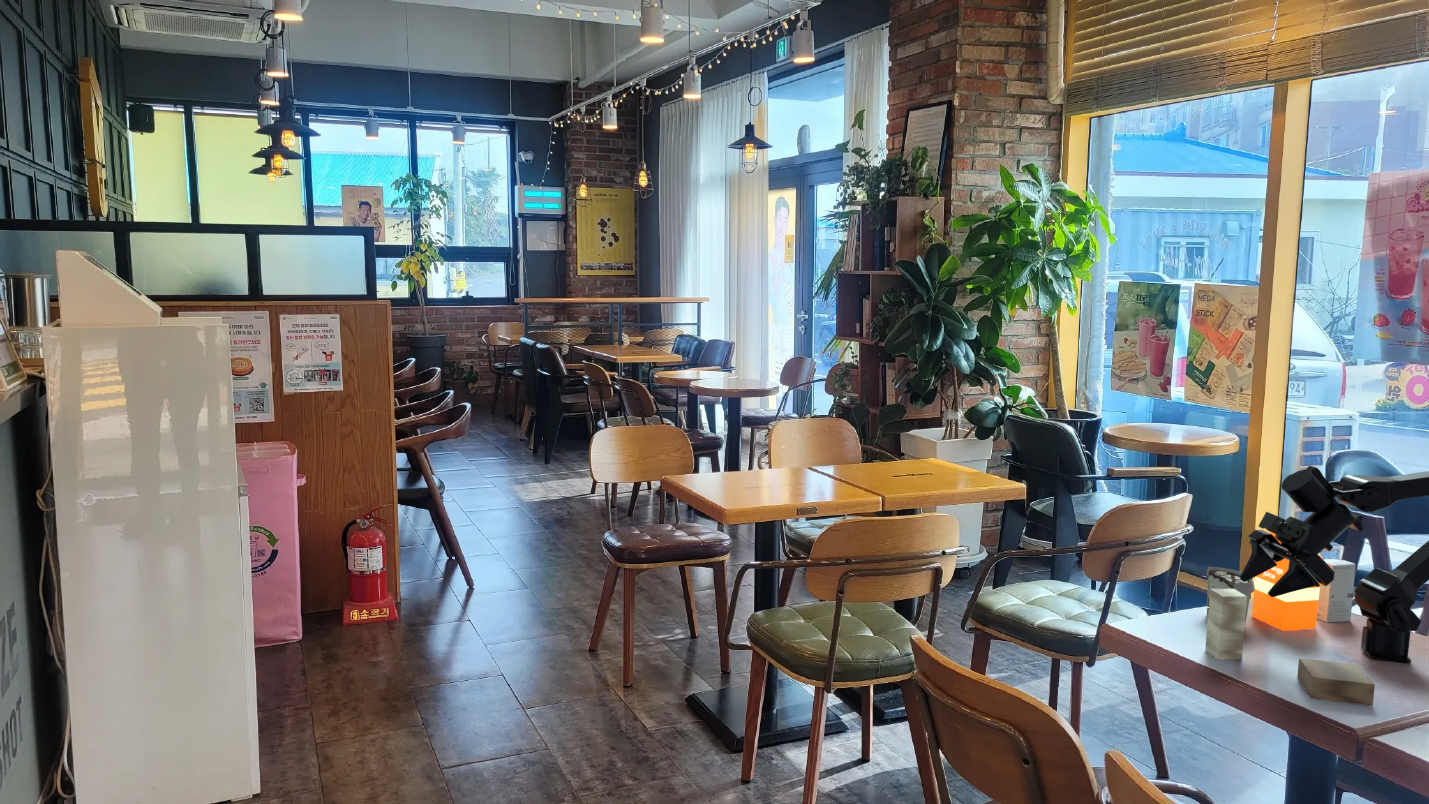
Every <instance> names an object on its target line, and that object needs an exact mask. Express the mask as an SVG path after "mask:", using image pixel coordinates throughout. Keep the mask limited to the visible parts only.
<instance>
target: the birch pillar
mask: <svg viewBox="0 0 1429 804" xmlns="http://www.w3.org/2000/svg"><path fill="white" fill-rule="evenodd" d="M1246 605H1247V596H1246V595H1244V594H1242V593H1240V592H1239V591H1237V590H1235V589H1210V596H1209V609H1208V616H1207V622H1206V623H1207V625H1206V636H1205V649H1204V650H1205V651H1206V652H1207V653H1208V654H1209V655H1211V656H1212V657H1213V656H1214V657H1213V658H1214V659H1216V658H1217V659H1216V660H1219V661H1220V660H1222V661H1223V660H1224V661H1226V660H1229V661H1233V660H1235V661H1237V660H1238V659H1242V660H1243V652H1244V642H1245V641H1244V640H1245V639H1244V638H1245V626H1246V623H1245V618H1246V619H1247V617H1246Z"/></svg>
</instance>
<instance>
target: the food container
mask: <svg viewBox="0 0 1429 804" xmlns="http://www.w3.org/2000/svg"><path fill="white" fill-rule="evenodd" d="M1242 572H1243V571H1242ZM1242 572H1241V571H1239V570H1234V569H1229V568H1224V567H1223V568H1222V567H1214V566H1213V567H1212V566H1208V567H1207V570H1206V577H1207V589H1206V590H1207V591H1206V592H1207V594H1206V595H1207V596H1206V597H1207V598H1206V616H1207V617H1208V609H1209V608H1207V607H1209V596H1210V589H1235V590H1237V591H1239V592H1240V593H1242V594H1244V595H1246V596H1247V605H1246V618H1245V624H1246V623H1247V616H1248V611H1249V604H1250V598H1251V594H1252V593H1254V591H1255V586H1254V582H1255V580H1253V578H1252V579H1250V580H1247V581H1245V582H1243V581H1242V580H1241V579H1240V576H1241V574H1242Z"/></svg>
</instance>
